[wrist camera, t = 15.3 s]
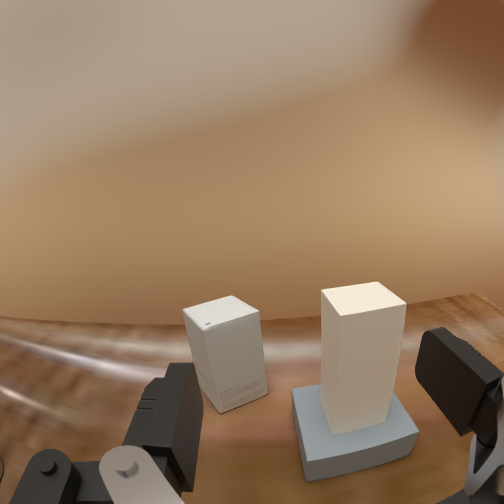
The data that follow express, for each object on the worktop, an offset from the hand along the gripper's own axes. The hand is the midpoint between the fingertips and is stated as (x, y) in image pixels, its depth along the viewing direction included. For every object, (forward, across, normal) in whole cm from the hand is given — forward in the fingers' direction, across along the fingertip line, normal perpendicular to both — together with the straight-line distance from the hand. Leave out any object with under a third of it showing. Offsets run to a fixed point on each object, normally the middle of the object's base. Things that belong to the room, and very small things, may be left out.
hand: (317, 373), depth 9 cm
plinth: (+12, -7, +20) cm, 25 cm away
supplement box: (+24, +6, +21) cm, 32 cm away
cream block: (+12, -7, +16) cm, 22 cm away
